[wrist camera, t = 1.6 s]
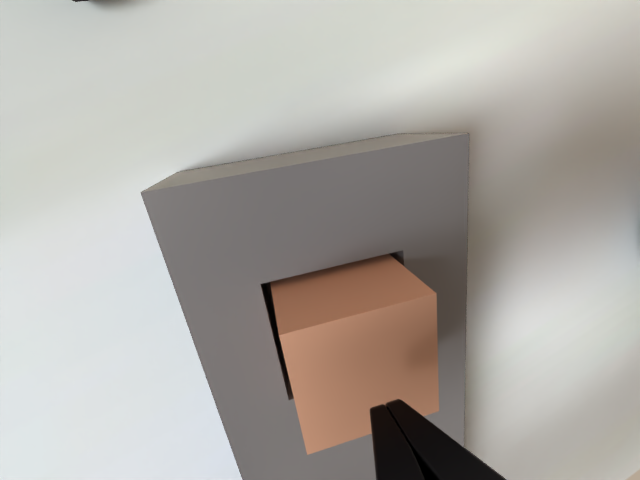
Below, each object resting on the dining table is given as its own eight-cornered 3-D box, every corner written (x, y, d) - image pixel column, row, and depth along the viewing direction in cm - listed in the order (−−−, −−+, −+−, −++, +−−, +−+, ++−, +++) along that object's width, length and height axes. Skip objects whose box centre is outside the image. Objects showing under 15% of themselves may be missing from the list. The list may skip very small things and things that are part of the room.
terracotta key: (387, 337, 14) (439, 411, 10) (289, 364, 13) (307, 454, 9) (378, 245, 12) (436, 293, 9) (268, 271, 12) (278, 335, 8)
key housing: (419, 483, 23) (462, 569, 19) (287, 532, 22) (299, 639, 17) (398, 133, 15) (468, 133, 10) (177, 171, 13) (140, 192, 8)
